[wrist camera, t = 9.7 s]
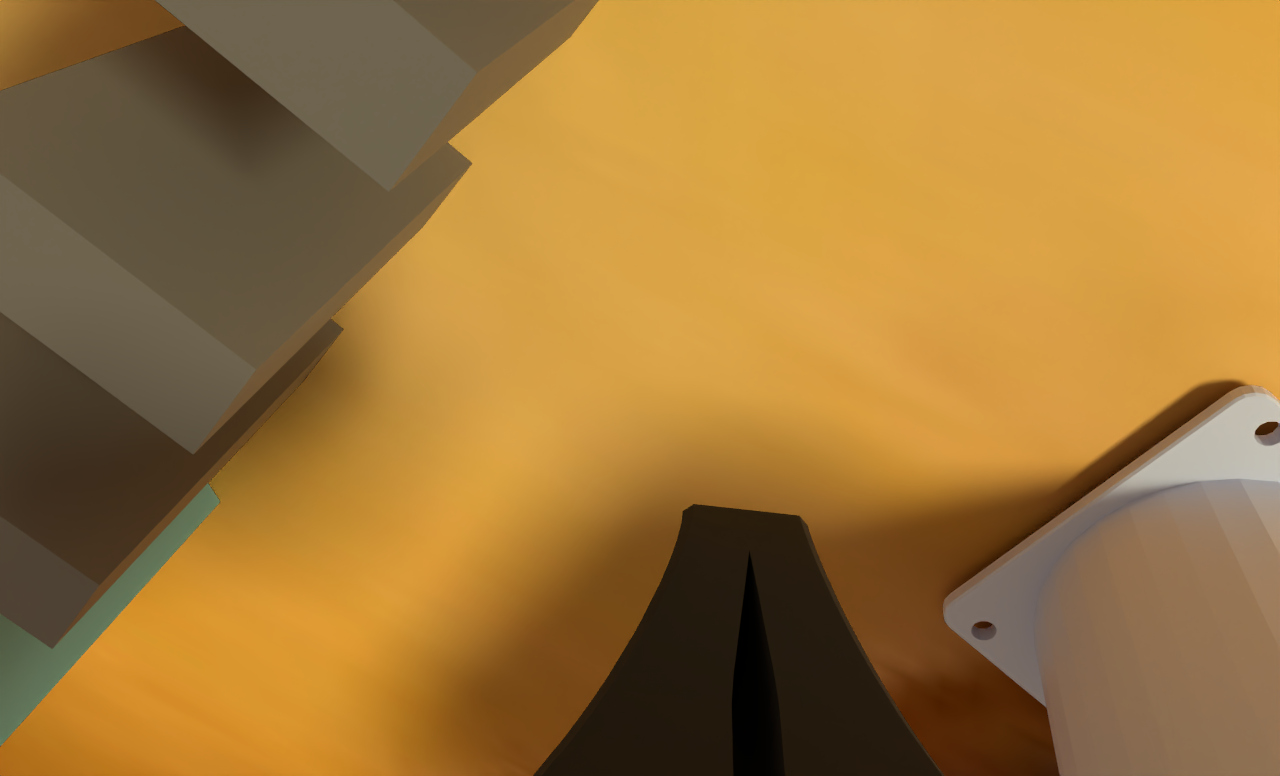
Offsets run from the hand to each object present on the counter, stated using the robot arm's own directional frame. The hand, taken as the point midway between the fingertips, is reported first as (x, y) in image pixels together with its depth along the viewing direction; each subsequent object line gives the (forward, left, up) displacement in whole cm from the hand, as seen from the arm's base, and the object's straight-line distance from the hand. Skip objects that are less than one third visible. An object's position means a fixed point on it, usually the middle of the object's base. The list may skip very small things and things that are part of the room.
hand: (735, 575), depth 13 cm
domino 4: (+8, +4, -10) cm, 14 cm away
